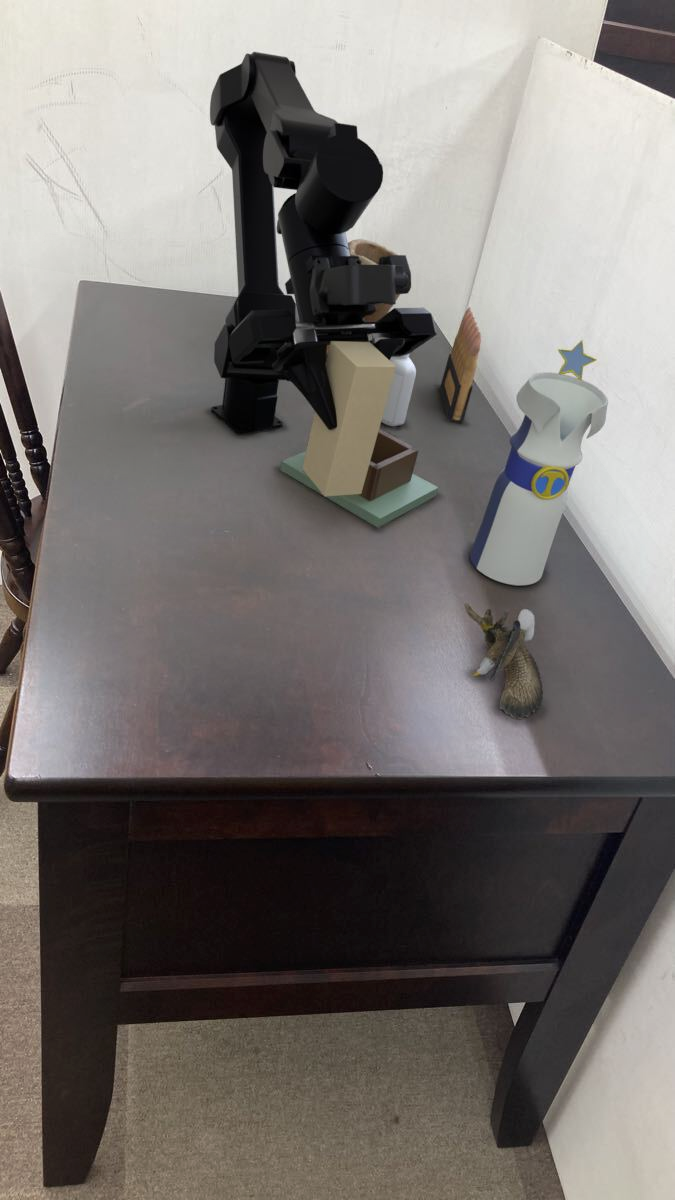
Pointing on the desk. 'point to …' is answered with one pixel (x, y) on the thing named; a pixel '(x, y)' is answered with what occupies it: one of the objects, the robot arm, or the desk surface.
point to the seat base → (378, 482)
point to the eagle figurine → (511, 661)
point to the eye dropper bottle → (399, 391)
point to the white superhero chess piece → (538, 471)
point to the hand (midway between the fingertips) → (353, 427)
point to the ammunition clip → (461, 368)
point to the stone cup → (370, 256)
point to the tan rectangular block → (349, 418)
